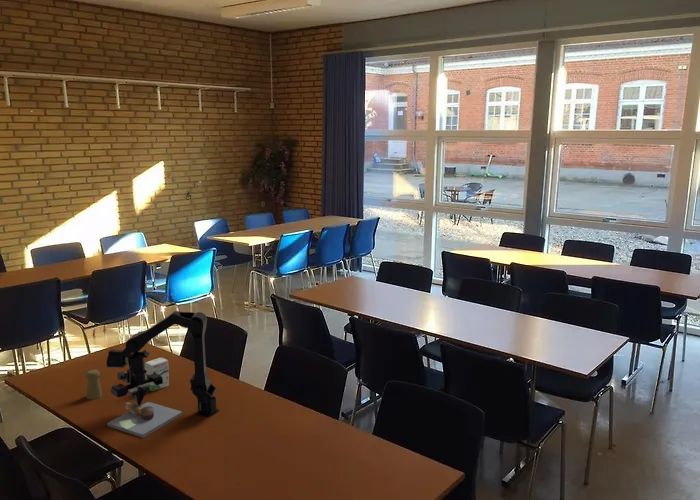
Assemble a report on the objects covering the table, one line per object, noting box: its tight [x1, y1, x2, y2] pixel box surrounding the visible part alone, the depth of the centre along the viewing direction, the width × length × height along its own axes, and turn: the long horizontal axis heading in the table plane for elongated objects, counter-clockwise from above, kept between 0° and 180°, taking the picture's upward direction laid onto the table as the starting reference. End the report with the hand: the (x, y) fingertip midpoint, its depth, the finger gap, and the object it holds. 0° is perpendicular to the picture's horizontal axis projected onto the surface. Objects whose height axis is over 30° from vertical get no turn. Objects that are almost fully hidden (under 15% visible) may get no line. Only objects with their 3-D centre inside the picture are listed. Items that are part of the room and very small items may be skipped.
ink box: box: [144, 357, 170, 392], centre depth 244 cm, size 9×5×12 cm, turn 143°
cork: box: [85, 369, 103, 400], centre depth 234 cm, size 6×6×11 cm
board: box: [107, 401, 184, 438], centre depth 216 cm, size 18×20×1 cm
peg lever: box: [125, 401, 154, 419], centre depth 217 cm, size 14×4×3 cm, turn 58°
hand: (138, 405), depth 221 cm, fingers closed
